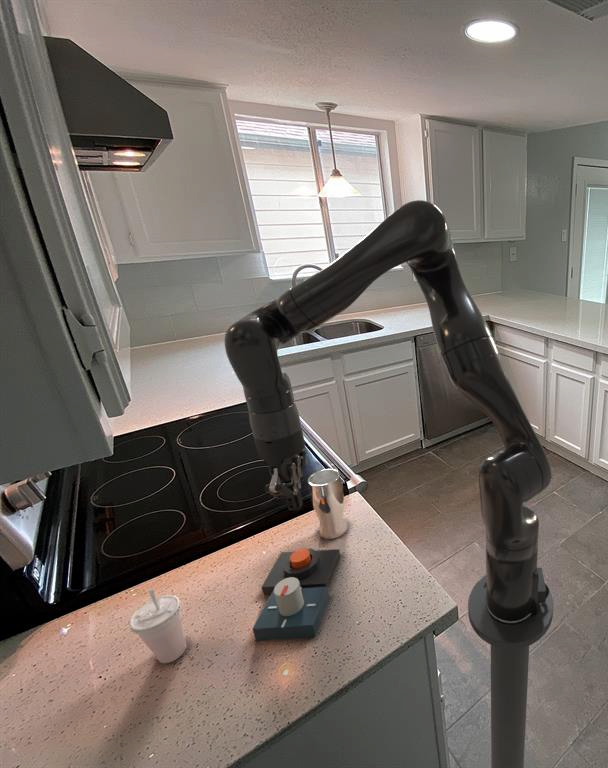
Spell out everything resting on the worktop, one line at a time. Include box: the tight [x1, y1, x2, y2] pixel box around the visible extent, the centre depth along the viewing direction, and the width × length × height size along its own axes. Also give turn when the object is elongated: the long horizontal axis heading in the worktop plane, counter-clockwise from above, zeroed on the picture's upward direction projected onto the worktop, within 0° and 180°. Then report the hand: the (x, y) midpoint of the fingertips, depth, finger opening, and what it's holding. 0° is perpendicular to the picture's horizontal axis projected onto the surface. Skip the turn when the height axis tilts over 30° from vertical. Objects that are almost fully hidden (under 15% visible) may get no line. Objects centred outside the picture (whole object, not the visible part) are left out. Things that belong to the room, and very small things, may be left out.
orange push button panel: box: [261, 547, 342, 596], centre depth 84 cm, size 12×9×4 cm
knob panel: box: [252, 587, 331, 642], centre depth 75 cm, size 10×8×3 cm
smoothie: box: [128, 587, 187, 664], centre depth 67 cm, size 6×6×14 cm
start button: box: [290, 548, 311, 569], centre depth 83 cm, size 4×4×2 cm
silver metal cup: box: [307, 468, 349, 540], centre depth 94 cm, size 7×7×15 cm
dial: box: [274, 577, 304, 616], centre depth 73 cm, size 4×4×5 cm
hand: (295, 508), depth 78 cm, fingers closed
